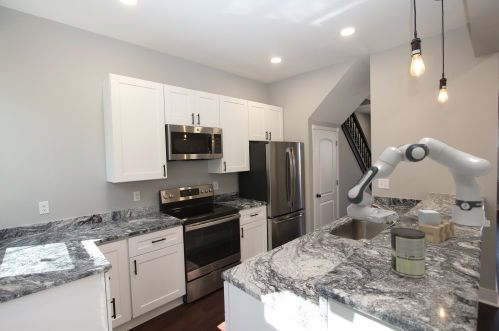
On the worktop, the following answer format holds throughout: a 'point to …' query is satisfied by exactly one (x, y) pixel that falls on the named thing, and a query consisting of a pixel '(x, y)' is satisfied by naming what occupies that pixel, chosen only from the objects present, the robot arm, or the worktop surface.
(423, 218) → the supplement box
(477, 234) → the worktop surface
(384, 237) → the worktop surface
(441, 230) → the oak rack
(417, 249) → the coffee can
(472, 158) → the robot arm
